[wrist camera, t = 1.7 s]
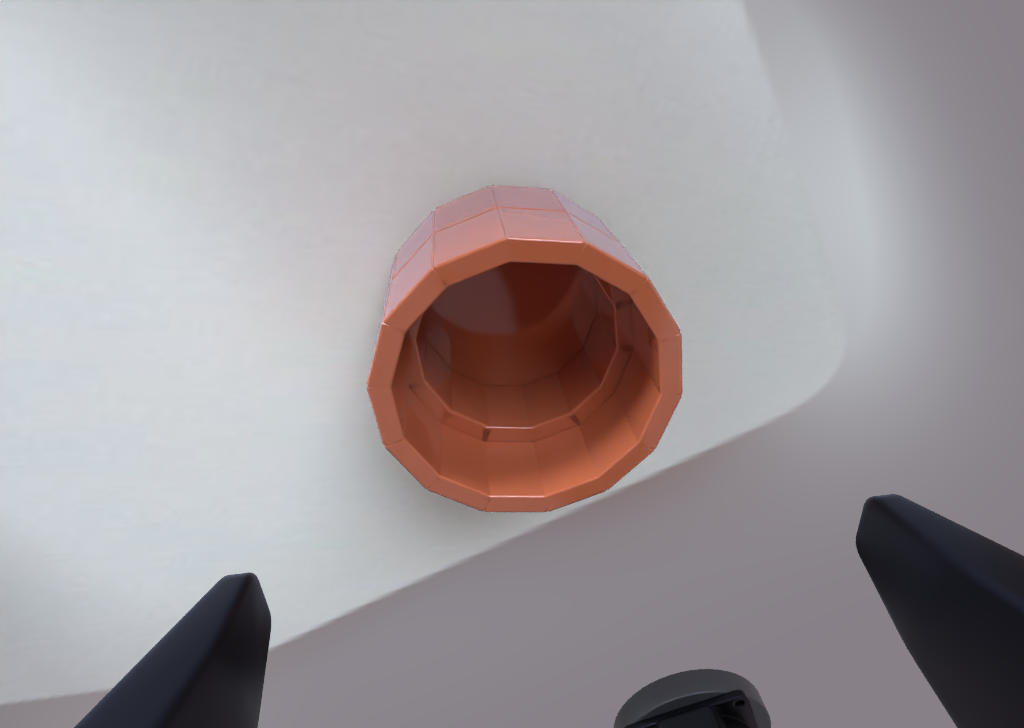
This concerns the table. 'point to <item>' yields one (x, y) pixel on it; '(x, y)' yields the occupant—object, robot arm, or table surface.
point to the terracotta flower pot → (521, 354)
